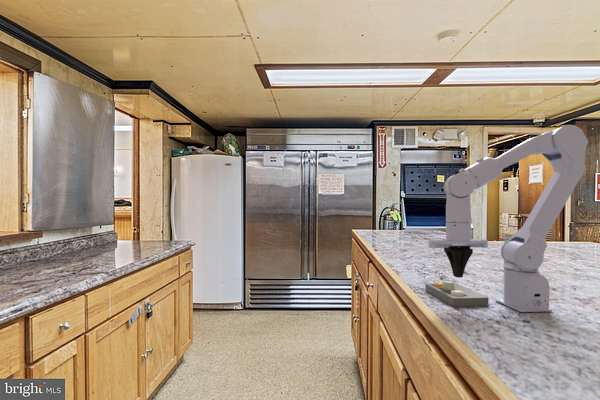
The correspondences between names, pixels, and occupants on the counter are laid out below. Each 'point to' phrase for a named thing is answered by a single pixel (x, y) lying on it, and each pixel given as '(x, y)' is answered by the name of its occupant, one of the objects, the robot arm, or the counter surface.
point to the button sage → (448, 286)
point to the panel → (457, 301)
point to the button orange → (438, 284)
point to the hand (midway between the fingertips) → (457, 276)
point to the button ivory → (457, 293)
